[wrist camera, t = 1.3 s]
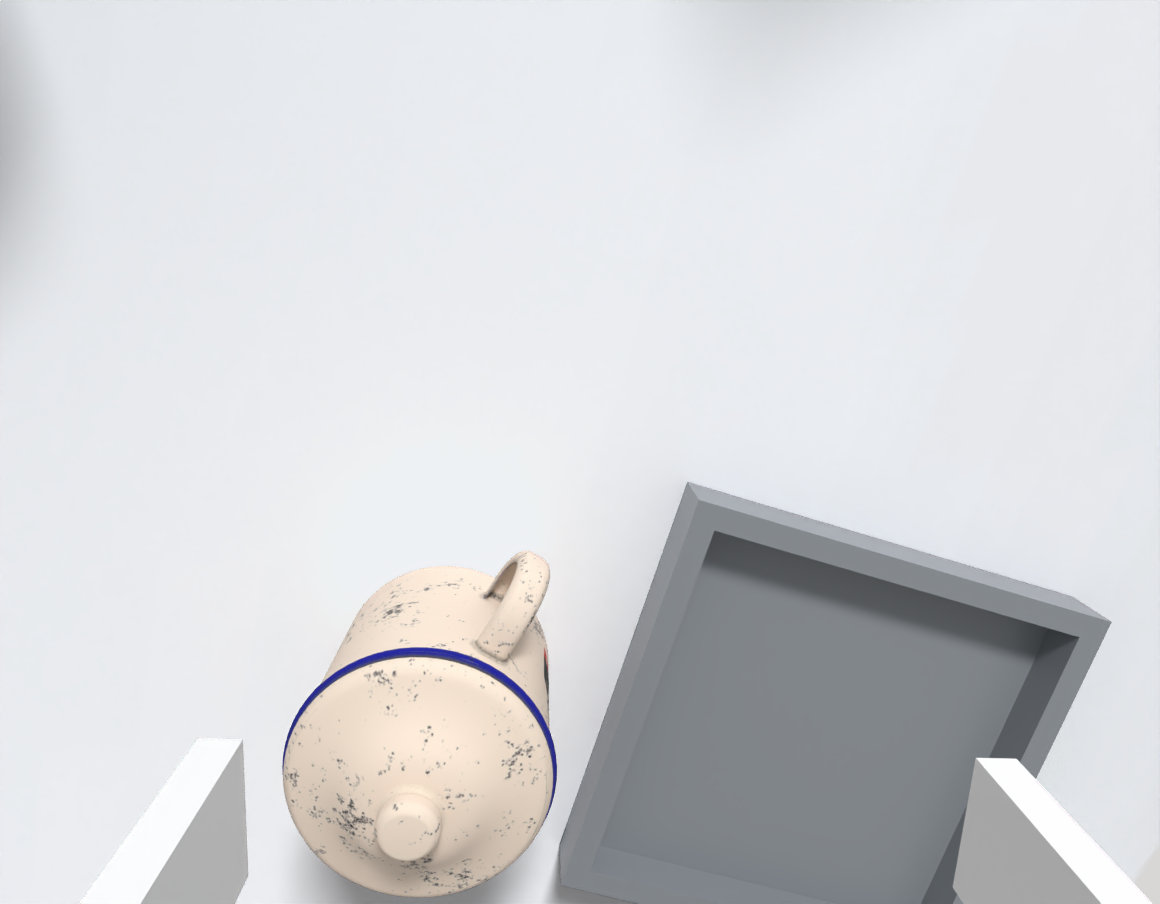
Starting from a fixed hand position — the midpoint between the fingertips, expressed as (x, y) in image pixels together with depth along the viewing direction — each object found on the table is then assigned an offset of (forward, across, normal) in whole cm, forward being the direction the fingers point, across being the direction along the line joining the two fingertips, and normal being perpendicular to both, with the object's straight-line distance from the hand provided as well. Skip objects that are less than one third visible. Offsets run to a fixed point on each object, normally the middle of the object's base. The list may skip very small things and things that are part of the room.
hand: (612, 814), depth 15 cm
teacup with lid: (+21, -4, -6) cm, 22 cm away
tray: (+20, +11, -10) cm, 25 cm away
